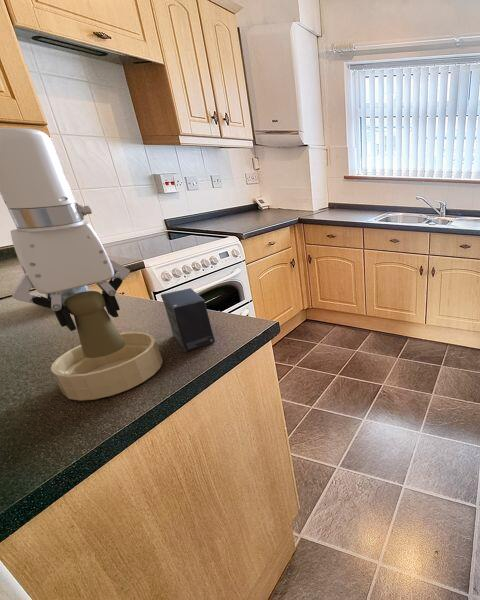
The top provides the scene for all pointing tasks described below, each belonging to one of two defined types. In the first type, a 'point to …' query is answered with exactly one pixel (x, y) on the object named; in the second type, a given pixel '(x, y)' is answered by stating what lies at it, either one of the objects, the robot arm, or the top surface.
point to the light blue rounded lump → (72, 292)
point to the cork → (94, 324)
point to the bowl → (107, 368)
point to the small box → (188, 318)
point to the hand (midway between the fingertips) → (93, 320)
